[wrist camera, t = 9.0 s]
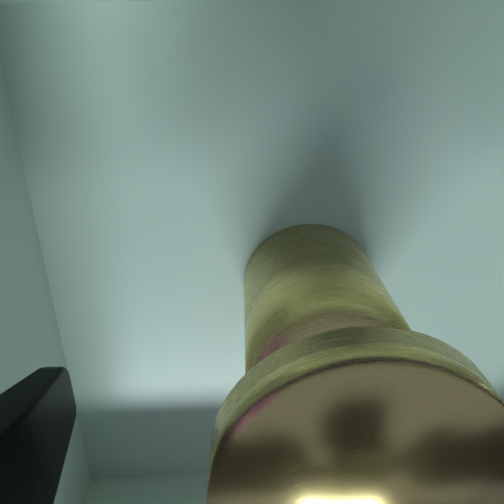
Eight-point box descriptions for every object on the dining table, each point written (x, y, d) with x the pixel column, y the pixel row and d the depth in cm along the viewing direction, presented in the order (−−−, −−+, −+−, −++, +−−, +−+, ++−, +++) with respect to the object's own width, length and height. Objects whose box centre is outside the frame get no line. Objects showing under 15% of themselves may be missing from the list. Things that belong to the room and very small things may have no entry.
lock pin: (384, 351, 12) (507, 609, 7) (225, 357, 12) (215, 622, 6) (400, 199, 10) (582, 371, 5) (217, 204, 10) (193, 384, 5)
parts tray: (520, 466, 15) (599, 586, 11) (74, 481, 14) (27, 607, 11) (665, -56, 9) (896, -110, 6) (-50, -39, 9) (-211, -85, 6)
